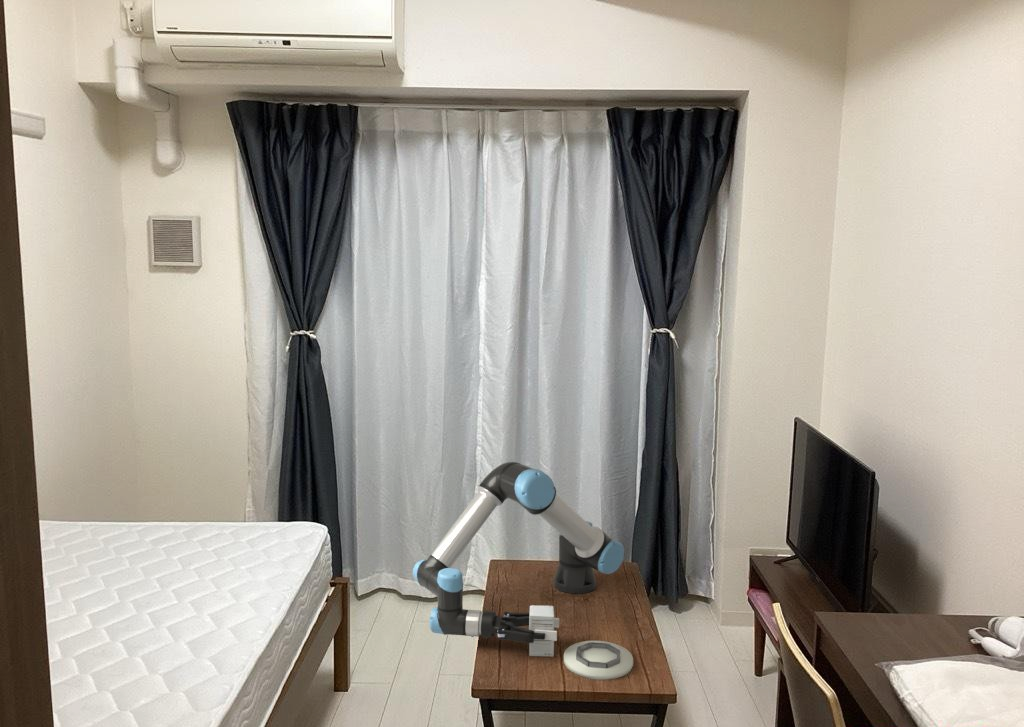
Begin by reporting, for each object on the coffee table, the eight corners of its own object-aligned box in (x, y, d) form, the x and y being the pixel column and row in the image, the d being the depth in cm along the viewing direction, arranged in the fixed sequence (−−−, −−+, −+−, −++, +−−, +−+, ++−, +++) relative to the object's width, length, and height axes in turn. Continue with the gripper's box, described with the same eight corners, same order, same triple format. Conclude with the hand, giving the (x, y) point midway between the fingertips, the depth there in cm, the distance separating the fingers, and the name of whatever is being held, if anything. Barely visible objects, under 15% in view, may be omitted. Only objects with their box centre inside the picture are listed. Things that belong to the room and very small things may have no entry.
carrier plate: (566, 642, 242) (566, 638, 242) (632, 648, 240) (632, 643, 239) (561, 676, 223) (561, 671, 222) (633, 682, 220) (633, 677, 220)
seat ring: (577, 645, 238) (577, 641, 238) (620, 648, 236) (620, 644, 236) (575, 666, 226) (575, 662, 225) (620, 669, 224) (620, 665, 224)
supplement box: (529, 644, 241) (529, 604, 240) (553, 645, 241) (554, 605, 239) (528, 656, 234) (529, 615, 232) (553, 657, 234) (554, 616, 232)
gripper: (487, 620, 249) (560, 625, 246) (475, 652, 229) (554, 658, 226) (487, 597, 249) (560, 602, 245) (475, 627, 228) (555, 633, 225)
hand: (557, 629), depth 236 cm, fingers closed on supplement box, 8 cm apart
